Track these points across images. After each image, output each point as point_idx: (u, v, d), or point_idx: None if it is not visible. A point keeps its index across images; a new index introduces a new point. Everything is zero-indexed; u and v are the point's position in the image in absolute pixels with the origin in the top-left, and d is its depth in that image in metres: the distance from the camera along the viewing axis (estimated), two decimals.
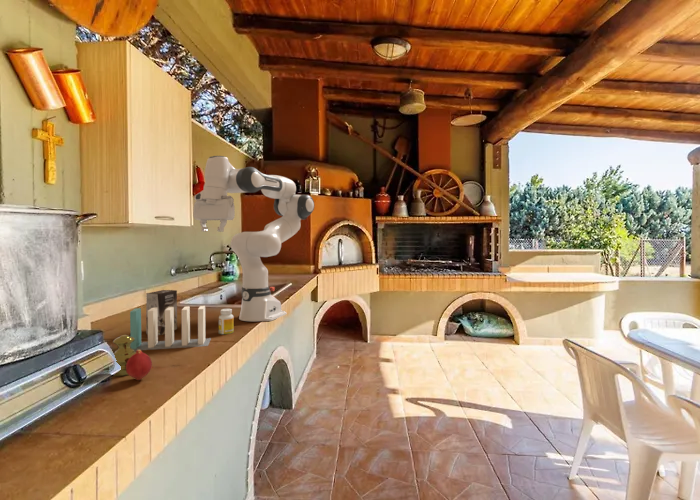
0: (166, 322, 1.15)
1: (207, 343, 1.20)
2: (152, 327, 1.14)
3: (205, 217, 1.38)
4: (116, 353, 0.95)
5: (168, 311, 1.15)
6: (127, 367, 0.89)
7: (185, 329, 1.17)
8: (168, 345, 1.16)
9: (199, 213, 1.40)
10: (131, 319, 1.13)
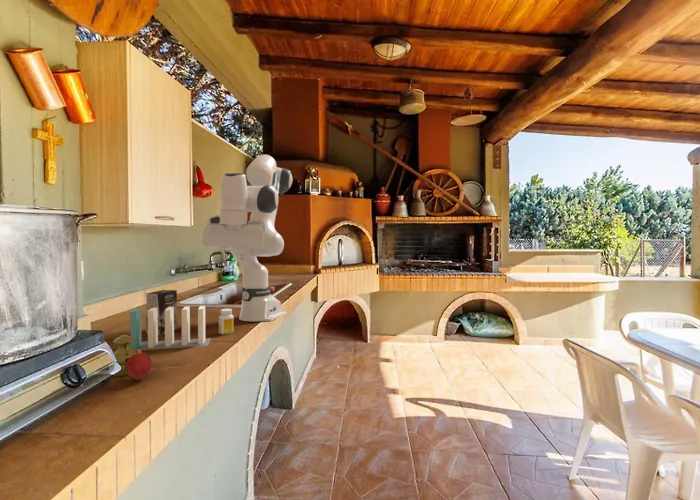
0: (166, 322, 1.15)
1: (207, 343, 1.20)
2: (152, 327, 1.14)
3: (226, 244, 1.20)
4: (116, 353, 0.95)
5: (168, 311, 1.15)
6: (127, 367, 0.89)
7: (185, 329, 1.17)
8: (168, 345, 1.16)
9: (214, 239, 1.19)
10: (131, 319, 1.13)
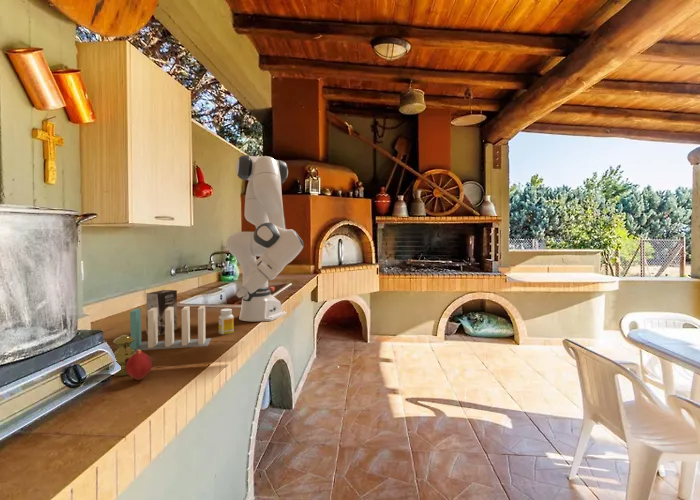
0: (166, 322, 1.15)
1: (207, 343, 1.20)
2: (152, 327, 1.14)
3: None
4: (116, 353, 0.95)
5: (168, 311, 1.15)
6: (127, 367, 0.89)
7: (185, 329, 1.17)
8: (168, 345, 1.16)
9: None
10: (131, 319, 1.13)
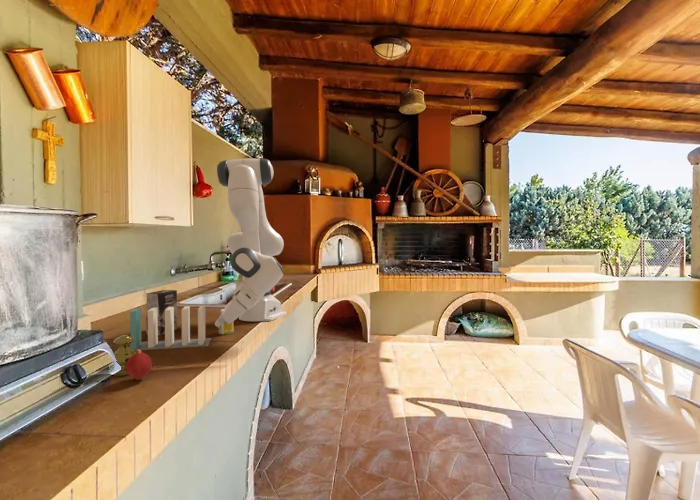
0: (166, 322, 1.15)
1: (207, 343, 1.20)
2: (152, 327, 1.14)
3: None
4: (116, 353, 0.95)
5: (168, 311, 1.15)
6: (127, 367, 0.89)
7: (185, 329, 1.17)
8: (168, 345, 1.16)
9: None
10: (131, 319, 1.13)
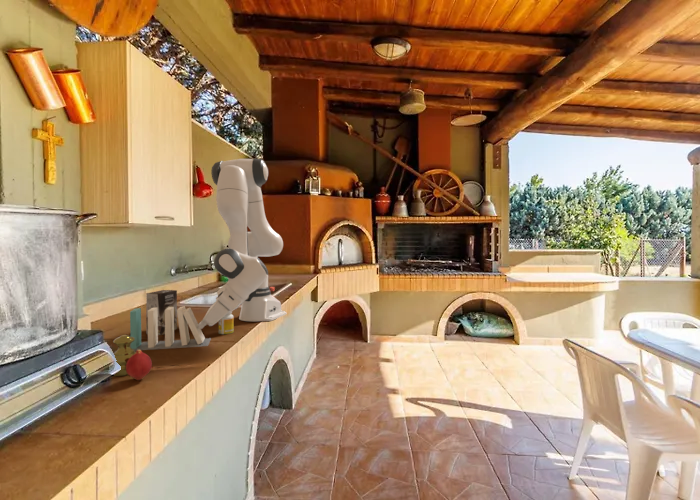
0: (166, 322, 1.15)
1: (207, 343, 1.20)
2: (152, 327, 1.14)
3: None
4: (116, 353, 0.95)
5: (168, 311, 1.15)
6: (127, 367, 0.89)
7: (183, 329, 1.17)
8: (168, 345, 1.16)
9: None
10: (131, 319, 1.13)
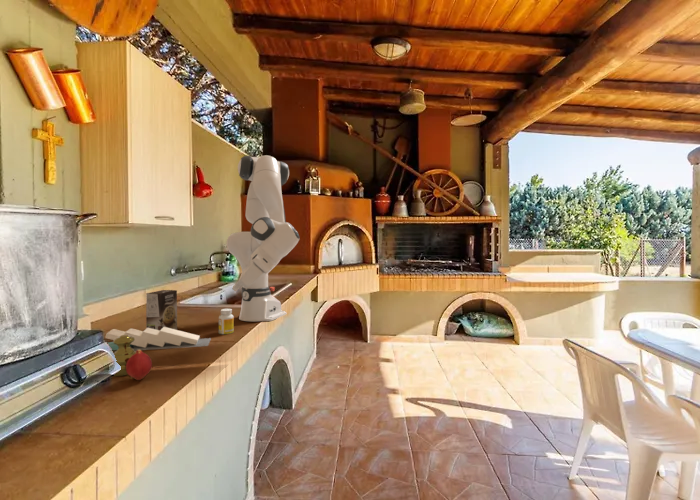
0: (137, 338, 1.13)
1: (207, 343, 1.20)
2: None
3: None
4: (116, 353, 0.95)
5: (126, 334, 1.13)
6: (127, 367, 0.89)
7: (163, 338, 1.15)
8: (162, 343, 1.15)
9: None
10: None
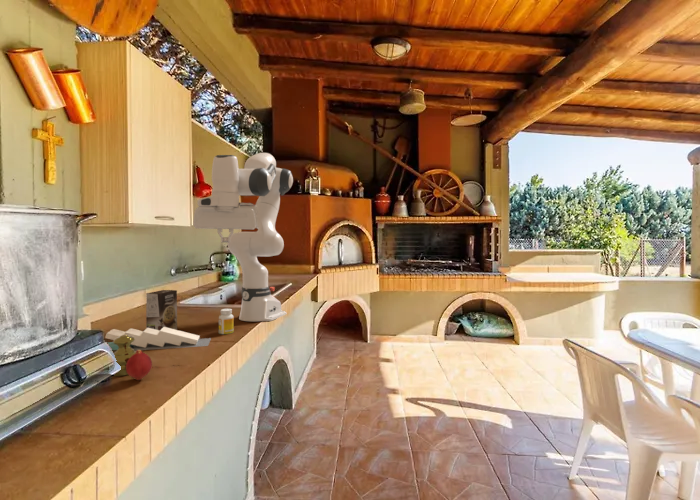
0: (137, 338, 1.13)
1: (207, 343, 1.20)
2: None
3: (217, 226, 1.19)
4: (116, 353, 0.95)
5: (126, 334, 1.13)
6: (127, 367, 0.89)
7: (163, 338, 1.15)
8: (162, 343, 1.15)
9: (205, 221, 1.18)
10: None
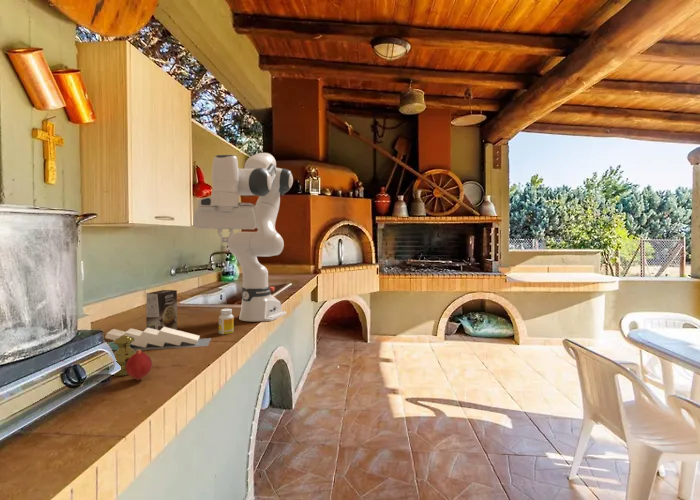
0: (137, 338, 1.13)
1: (207, 343, 1.20)
2: None
3: (217, 226, 1.19)
4: (116, 353, 0.95)
5: (126, 334, 1.13)
6: (127, 367, 0.89)
7: (163, 338, 1.15)
8: (162, 343, 1.15)
9: (205, 221, 1.18)
10: None
